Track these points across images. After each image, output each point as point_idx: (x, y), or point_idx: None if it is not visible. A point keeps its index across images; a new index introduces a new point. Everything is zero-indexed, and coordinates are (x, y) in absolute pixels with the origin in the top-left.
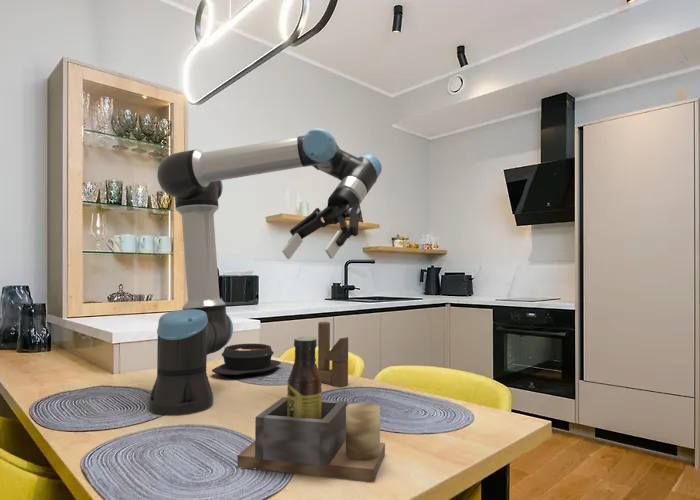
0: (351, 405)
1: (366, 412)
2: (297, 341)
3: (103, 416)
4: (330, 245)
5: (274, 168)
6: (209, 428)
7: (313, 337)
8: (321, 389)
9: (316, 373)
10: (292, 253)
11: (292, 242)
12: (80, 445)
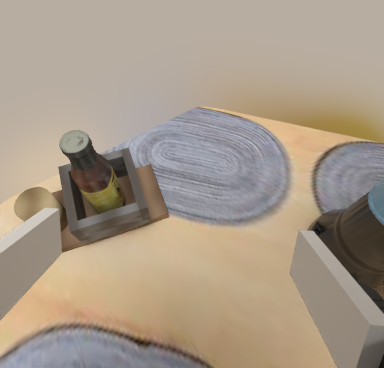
0: (48, 202)
1: (24, 192)
2: (79, 130)
3: (362, 182)
4: (28, 220)
5: None
6: (245, 215)
7: (67, 151)
8: (79, 188)
9: (71, 165)
10: (301, 287)
11: (326, 278)
12: (291, 136)
